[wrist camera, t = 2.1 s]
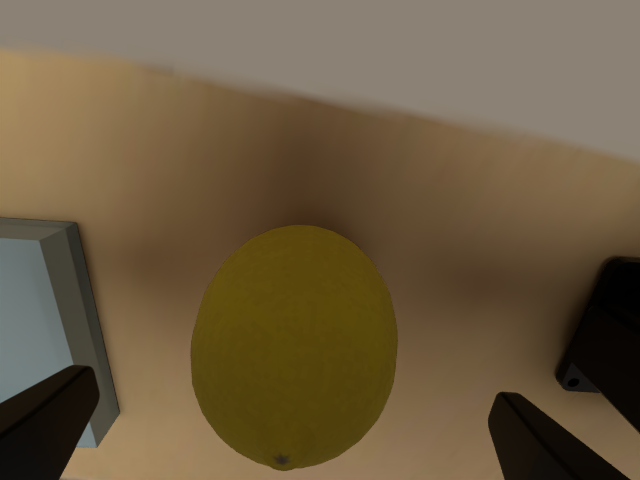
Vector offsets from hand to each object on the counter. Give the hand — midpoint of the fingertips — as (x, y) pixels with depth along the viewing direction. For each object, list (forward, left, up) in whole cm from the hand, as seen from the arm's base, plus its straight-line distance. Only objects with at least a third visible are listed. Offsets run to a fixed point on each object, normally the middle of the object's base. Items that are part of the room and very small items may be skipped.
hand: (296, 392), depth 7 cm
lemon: (0, 0, -7) cm, 7 cm away
